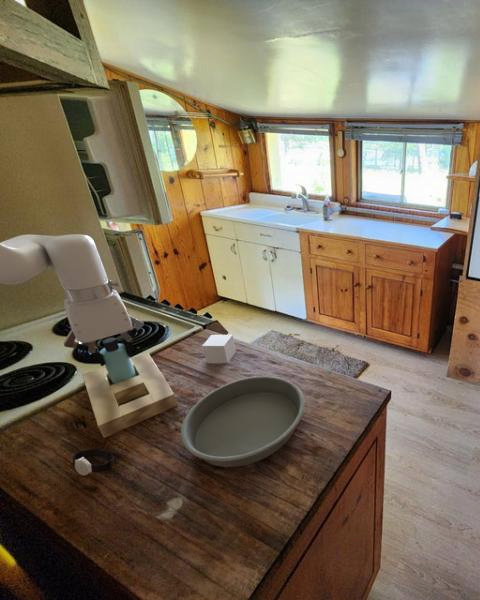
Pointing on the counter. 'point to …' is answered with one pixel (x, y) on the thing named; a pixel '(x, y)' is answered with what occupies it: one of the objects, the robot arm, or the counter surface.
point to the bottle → (117, 361)
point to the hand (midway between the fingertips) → (116, 358)
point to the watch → (85, 467)
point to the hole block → (128, 396)
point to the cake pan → (243, 421)
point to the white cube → (219, 348)
